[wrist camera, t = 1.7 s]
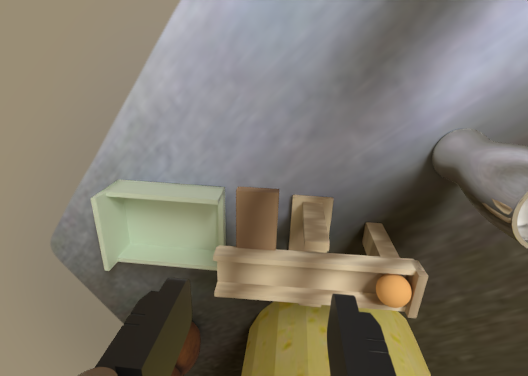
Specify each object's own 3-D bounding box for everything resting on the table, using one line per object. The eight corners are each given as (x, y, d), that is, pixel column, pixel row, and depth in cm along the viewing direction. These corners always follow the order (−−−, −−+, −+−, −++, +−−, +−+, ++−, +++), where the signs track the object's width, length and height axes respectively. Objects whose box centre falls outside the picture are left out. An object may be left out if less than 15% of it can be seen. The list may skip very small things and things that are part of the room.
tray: (118, 179, 41) (90, 198, 35) (225, 187, 40) (213, 207, 34) (128, 244, 44) (104, 270, 39) (225, 252, 43) (215, 280, 38)
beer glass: (433, 190, 37) (515, 267, 23) (421, 136, 35) (503, 186, 21) (497, 172, 36) (624, 242, 22) (488, 114, 33) (625, 152, 20)
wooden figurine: (188, 307, 48) (144, 407, 34) (212, 331, 49) (179, 436, 36) (158, 325, 50) (105, 426, 36) (182, 347, 51) (140, 452, 38)
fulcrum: (386, 201, 38) (414, 244, 29) (373, 263, 42) (394, 319, 33) (292, 194, 39) (291, 234, 30) (288, 255, 43) (285, 308, 34)
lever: (429, 197, 29) (446, 214, 26) (404, 293, 33) (416, 318, 30) (217, 185, 30) (209, 199, 27) (219, 280, 34) (212, 302, 31)
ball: (373, 266, 31) (387, 288, 28) (404, 266, 31) (421, 288, 28) (368, 292, 32) (381, 315, 29) (398, 291, 32) (414, 315, 29)
